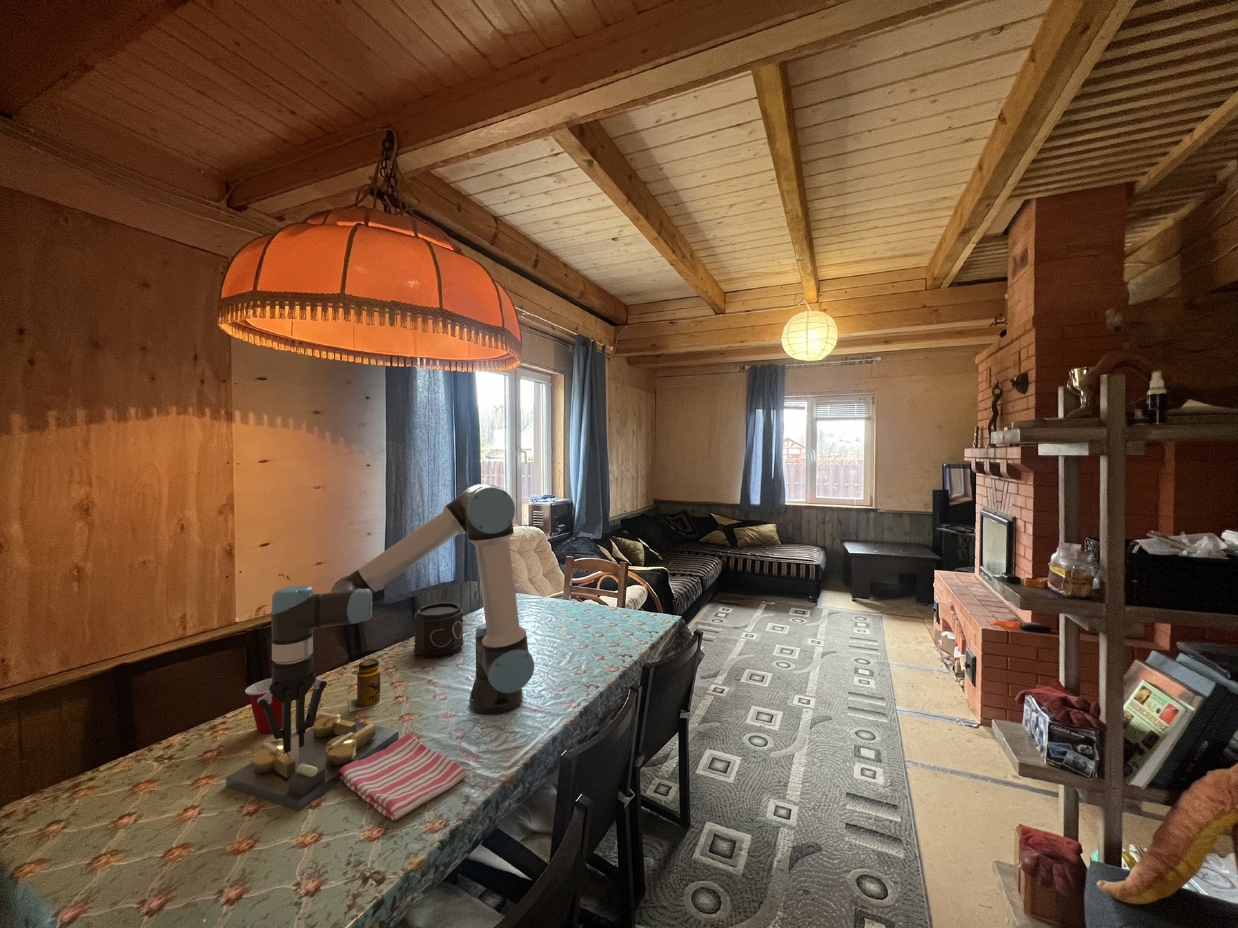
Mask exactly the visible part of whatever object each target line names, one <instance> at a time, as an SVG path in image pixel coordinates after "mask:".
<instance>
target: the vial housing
mask: <svg viewBox="0 0 1238 928" xmlns="http://www.w3.org/2000/svg"><path fill="white" fill-rule="evenodd" d="M323 780H325V768H323V767H319V766H316V765H312V764H311V765H307V764H300V765H299V766H298V767H297V774H296V775H294V776H293V777H291V778H289V791H292V792H295V793H298V794H301V795H303V794H305V793H306V792H307V791H309V790H310V789H312V788H313V787H315V786H316V785H318V784H319V783H320V782H322V781H323Z"/></svg>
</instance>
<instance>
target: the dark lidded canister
mask: <svg viewBox="0 0 1238 928" xmlns="http://www.w3.org/2000/svg"><path fill="white" fill-rule="evenodd" d="M463 616H464V610H463V607H461V605H460V604H459V603H456V602H455V603H454V602H436V603H431V604H430V603H429V604H425V605H424V606H422V607H419V608H418V609H417V611H416V612H415V614H414V617H413V621H414V622H415V623H414V632H413V633H414V647H413V648H414V649H413V650H414V653H416V655H417V657H420V658H423V659H425V660H426V659H427V660H428V659H430V660H433V659H442V658H447V657H450V656H453V655H455V654H457V653H458V652H459V651H460V649H462V647H463V646H464V642H465V641H464V621H463Z"/></svg>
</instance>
